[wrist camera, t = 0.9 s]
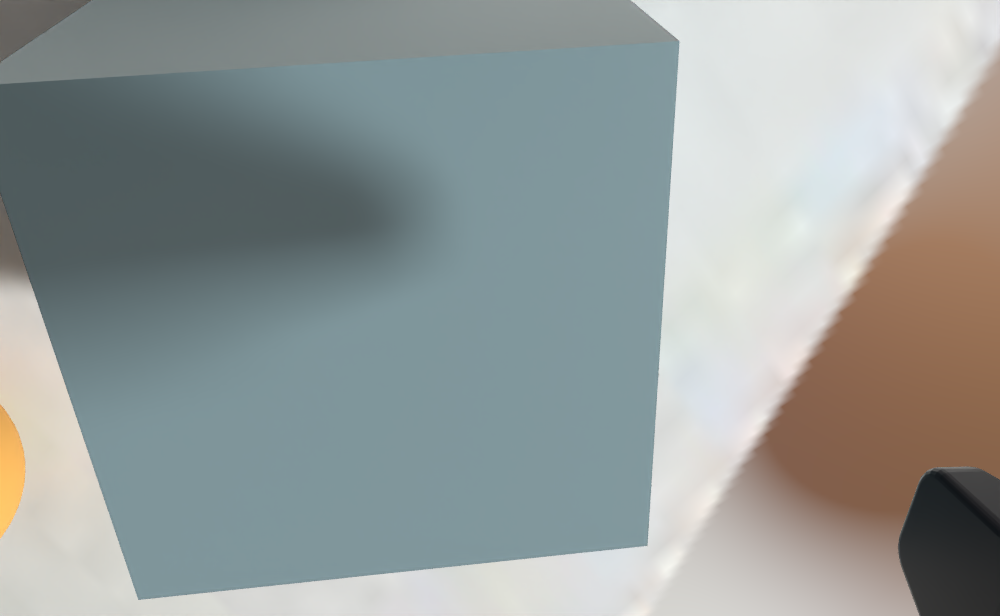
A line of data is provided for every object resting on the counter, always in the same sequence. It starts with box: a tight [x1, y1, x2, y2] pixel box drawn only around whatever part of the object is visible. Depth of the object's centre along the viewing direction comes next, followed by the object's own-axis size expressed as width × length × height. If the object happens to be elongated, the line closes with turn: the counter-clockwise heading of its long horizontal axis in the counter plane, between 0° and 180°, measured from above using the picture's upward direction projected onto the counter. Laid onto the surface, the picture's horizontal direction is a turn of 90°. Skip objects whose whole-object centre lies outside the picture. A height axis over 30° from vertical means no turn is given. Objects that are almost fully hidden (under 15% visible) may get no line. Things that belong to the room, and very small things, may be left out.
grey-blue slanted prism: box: [0, 0, 679, 600], centre depth 15 cm, size 8×8×9 cm
